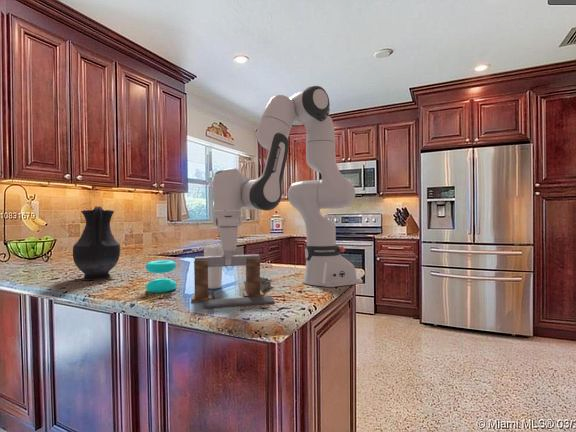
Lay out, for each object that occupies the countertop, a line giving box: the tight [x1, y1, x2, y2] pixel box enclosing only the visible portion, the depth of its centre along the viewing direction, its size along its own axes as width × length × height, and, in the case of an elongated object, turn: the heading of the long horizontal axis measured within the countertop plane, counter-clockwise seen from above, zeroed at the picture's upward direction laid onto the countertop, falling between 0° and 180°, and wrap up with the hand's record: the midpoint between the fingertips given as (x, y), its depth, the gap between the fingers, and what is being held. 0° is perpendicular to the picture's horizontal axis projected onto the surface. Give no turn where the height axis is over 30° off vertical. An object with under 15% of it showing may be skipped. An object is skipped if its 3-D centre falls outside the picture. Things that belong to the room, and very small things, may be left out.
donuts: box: [145, 259, 177, 294], centre depth 117 cm, size 10×10×10 cm
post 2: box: [242, 257, 265, 298], centre depth 107 cm, size 6×6×12 cm
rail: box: [194, 253, 261, 268], centre depth 105 cm, size 20×3×3 cm, turn 103°
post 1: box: [190, 260, 213, 303], centre depth 104 cm, size 6×6×12 cm
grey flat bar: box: [204, 295, 276, 310], centre depth 99 cm, size 20×7×1 cm, turn 103°
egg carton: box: [243, 276, 273, 293], centre depth 118 cm, size 11×8×4 cm
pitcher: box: [72, 205, 121, 281], centre depth 139 cm, size 17×21×30 cm
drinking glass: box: [203, 244, 224, 290], centre depth 120 cm, size 7×7×15 cm
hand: (227, 263), depth 105 cm, fingers closed on rail, 3 cm apart
